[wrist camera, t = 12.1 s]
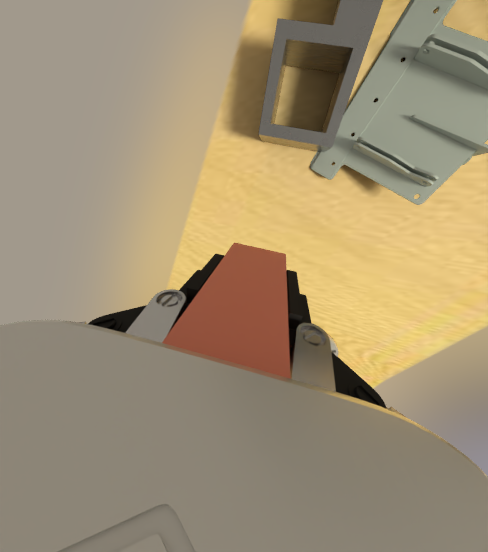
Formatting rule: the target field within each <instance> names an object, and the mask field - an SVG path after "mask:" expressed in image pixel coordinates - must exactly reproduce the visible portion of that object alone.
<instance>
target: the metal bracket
mask: <svg viewBox="0 0 488 552" xmlns="http://www.w3.org/2000/svg"><path fill="white" fill-rule="evenodd" d="M456 1H457V0H411V1H410V3H409V4H408V6H407V8H406V9H405V11H404V13H403V14H402V16H401V17H400V19H399V21H398V22H397V24H396V26H395V27H394V29H393V30H392V32H391V37H390V39H389V41H388V43H387V44H386V46H385V47H384V49H383V51H382V52H381V54H380V56H379V57H378V59H377V60H376V62H375V64H374V65H373V67H372V69H371V70H370V72H369V73H368V75H367V77H366V78H365V80H364V82H363V83H362V85H361V87H360V88H359V90H358V91H357V93H356V95H355V96H354V98H353V100H352V101H351V103H350V104H349V106H348V108H347V109H346V111H345V113H344V115H343V118H342V120H341V123H340V126H339V129H338V132H337V135H336V138H335V141H334V144H333V146H332V148H331V149H329V150H327V151H326V152H317V153H316V155H315V157H314V158H313V160H312V161H311V166H310V168H311V169H312V170H313V171H315V172H317V173H318V174H320V175H322V176H324V177H325V178H327V179H329V180H331V179H333V177H334V176H335V175H336V173H337V172H338V170H339V169H340V167H341V166H343V165H346V166H348V167H350V168H352V169H353V170H355V171H357V172H359V173H361V174H362V175H364V176H366V177H368V178H370V179H371V180H373V181H375V182H377V183H379V184H380V185H382V186H384V187H386V188H388V189H389V190H391V191H393V192H395V193H397V194H398V195H400V196H402V197H404V198H406V199H407V200H409V201H411V202H413V203H415V204H417V205H420V204H422V203H424V202H425V201H426V200H427V199H428V198H429V197H430V196H431V195H432V194H433V193H434V192H435V191H436V190H437V189H438V188H439V187H440V186H441V185H442V184H443V183H444V182H445V181H446V180H447V179H448V178H449V177H450V176H451V175H452V174H453V173H454V172H455V171H456V170H457V169H458V168H459V167H460V166H461V165H464V164H465V163H467V162H468V161H469V160H470V159H471V158H472V156H475V155H480V154H484V153H488V145H487V144H484V143H485V142H486V141H487V140H488V41H485V40H482V39H480V38H477V37H474V36H471V35H469V34H466V33H463V32H460V31H457V30H455V29H452V28H449V27H446V26H444V25H443V20H444V18H445V16H446V15H447V14H448V12H449V11H450V9H451V8H452V6H453V5H454V4H455V2H456ZM437 8H438V12H437V13H433V11H434V10H435V9H437ZM402 58H405V61H404V62H401V59H402ZM376 98H377V99H378V101H377V102H376V103H375V102H374V99H376ZM352 133H355V135H354V136H353V137H352V136H351V134H352ZM333 162H335V165H332V163H333ZM416 194H419V195H420V197H419V198H418V199H414V195H416Z"/></svg>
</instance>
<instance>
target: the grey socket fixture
mask: <svg viewBox="0 0 488 552" xmlns="http://www.w3.org/2000/svg"><path fill="white" fill-rule="evenodd" d="M382 2H383V0H339V1H338V4H337V8H336V12H335V16H334V19H333V23H332V25H327V24H318V23H310V22H302V21H294V20H286V19H278V20H277V26H276V32H275V38H274V44H273V50H272V56H271V62H270V68H269V74H268V80H267V86H266V92H265V98H264V104H263V110H262V116H261V122H260V128H259V136H260V138H261V140H262V141H263V142H268V143H274V144H279V145H285V146H290V147H296V148H301V149H306V150H312V151H317V152H326V151H327V150H329V149H331V148H332V146H333V144H334V141H335V138H336V135H337V132H338V129H339V126H340V123H341V120H342V118H343V115H344V112H345V109H346V106H347V103H348V100H349V97H350V94H351V92H352V89H353V86H354V83H355V80H356V77H357V74H358V71H359V68H360V66H361V63H362V60H363V57H364V54H365V51H366V48H367V45H368V42H369V40H370V37H371V34H372V31H373V28H374V25H375V22H376V19H377V17H378V14H379V11H380V8H381V5H382ZM286 66H293V67H300V68H307V69H314V70H321V71H328V72H335V73H340V74H339V77H338V80H337V84H336V87H335V90H334V93H333V97H332V100H331V103H330V106H329V109H328V113H327V116H326V119H325V122H324V126H323V129H322V132H316V131H311V130H305V129H299V128H293V127H288V126H282V125H276V124H274V122H275V117H276V112H277V107H278V102H279V97H280V92H281V87H282V82H283V77H284V72H285V67H286Z"/></svg>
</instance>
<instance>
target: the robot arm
mask: <svg viewBox="0 0 488 552" xmlns="http://www.w3.org/2000/svg"><path fill="white" fill-rule="evenodd" d="M223 257H224V255H219V254H215V255H214V256H213V257H212V258H211V260H210V261H209V262H208V263H207V264H206V265H205V267H204V268H203V269H202V270H197V271H196V272H195V273H194V274H193V276H192V277H191V278H190V279H189V280H188V281H187V282H186V283H185V284H184V285H183V287H182V288H181V289H180V290H179V291H178V290H164V291H161V292H159V293H157V294H156V295H155V296H154V297H153V298H152V300H151V301H150V302H149V304H148V305H146V306H142V307H138V308H134V309H129V310H125V311H121V312H117V313H113V314H109V315H105V316H102V317H99V318H96V319H94V320H92V321H91V322H90V323H89V324H86V322H79V323H78V322H71V321H60V320H33V321H22V322H14V323H9V324H4V325H0V552H488V476H487V475H486V474H485V473H484V472H483V471H482V470H481V469H480V468H479V467H478V466H477V465H476V464H475V463H474V462H473V461H471V460H470V459H469V458H468V457H467V456H466V455H464V454H463V453H462V452H460V451H459V450H458V449H457V448H455V447H454V446H453V445H451V444H450V443H448V442H447V441H445V440H444V439H443V438H441V437H439V436H438V435H436V434H434V433H433V432H431V431H430V430H428V429H426V428H425V427H423V426H421V425H419V424H418V423H415V422H414V421H412V420H410V419H408V418H406V417H405V416H404V415H402V414H401V413H399V412H398V411H397V410H395V409H394V408H392V407H390V408H389V409H388V408H387V407H386V406H385V404H384V402H383V400H382V399H381V397H380V396H379V394H378V393H377V392H376V391H375V390H374V389H373V388H372V387H371V386H370V385H368V384H367V383H366V382H365V381H364V380H363V379H362V378H361V377H359V376H358V375H357V374H356V373H355V372H354V371H353V370H352V369H350V368H349V367H348V366H347V365H346V364H345V363H344V362H343V361H342V360H340V359H339V358H338V348H337V345H336V343H335V341H334V340H333V339H332V338H331V337H330V336H329V335H328V334H327V333H326V332H325V331H324V330H323V329H321V328H320V327H318V326H316V325H314V324H311V319H310V314H309V309H308V303H307V298H306V296H305V295H302V294H300V293H299V286H298V279H297V273H296V272H294V271H290V270H287V271H286V275H287V301H288V327H289V353H290V378H286V377H283V376H279V375H276V374H272V373H269V372H265V371H262V370H258V369H255V368H251V367H247V366H244V365H240V364H237V363H233V362H229V361H226V360H222V359H219V358H215V357H211V356H208V355H204V354H201V353H197V352H193V351H190V350H186V349H182V348H179V347H175V346H171V345H168V344H164V343H162V342H163V341H164V339H165V338H166V336H167V335H168V334H169V332H170V331H171V329H172V328H173V327H174V325H175V324H176V323H177V321H178V320H179V318H180V317H181V316H182V314H183V313H184V311H185V310H186V309H187V307H188V306H189V305H190V303H191V302H192V300H193V299H194V298H195V296H196V295H197V293H198V292H199V291H200V289H201V288H202V287H203V285H204V284H205V282H206V281H207V280H208V278H209V277H210V275H211V274H212V273H213V271H214V270H215V269H216V267H217V266H218V264H219V263H220V262H221V260H222V259H223Z"/></svg>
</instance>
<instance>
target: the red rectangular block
mask: <svg viewBox="0 0 488 552" xmlns="http://www.w3.org/2000/svg"><path fill="white" fill-rule="evenodd" d="M162 343H164V344H168V345H171V346H175V347H179V348H182V349H186V350H190V351H193V352H197V353H201V354H204V355H208V356H211V357H215V358H219V359H222V360H226V361H229V362H233V363H237V364H240V365H244V366H247V367H251V368H255V369H258V370H262V371H265V372H269V373H272V374H276V375H279V376H283V377H286V378H290V353H289V327H288V301H287V275H286V254H283V253H279V252H274V251H270V250H265V249H261V248H256V247H252V246H247V245H242V244H238V243H234V244H233V245H232V246H231V248H230V249H229V251H228V252H227V253H226V255H225V256H224V257H223V259H222V260H221V262H220V263H219V264H218V266H217V267H216V269H215V270H214V271H213V273H212V274H211V275H210V277H209V278H208V280H207V281H206V282H205V284H204V285H203V287H202V288H201V289H200V291H199V292H198V293H197V295H196V296H195V298H194V299H193V300H192V302H191V303H190V305H189V306H188V307H187V309H186V310H185V311H184V313H183V314H182V316H181V317H180V318H179V320H178V321H177V323H176V324H175V325H174V327H173V328H172V329H171V331H170V332H169V334H168V335H167V336H166V338H165V339H164V341H163V342H162Z"/></svg>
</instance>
